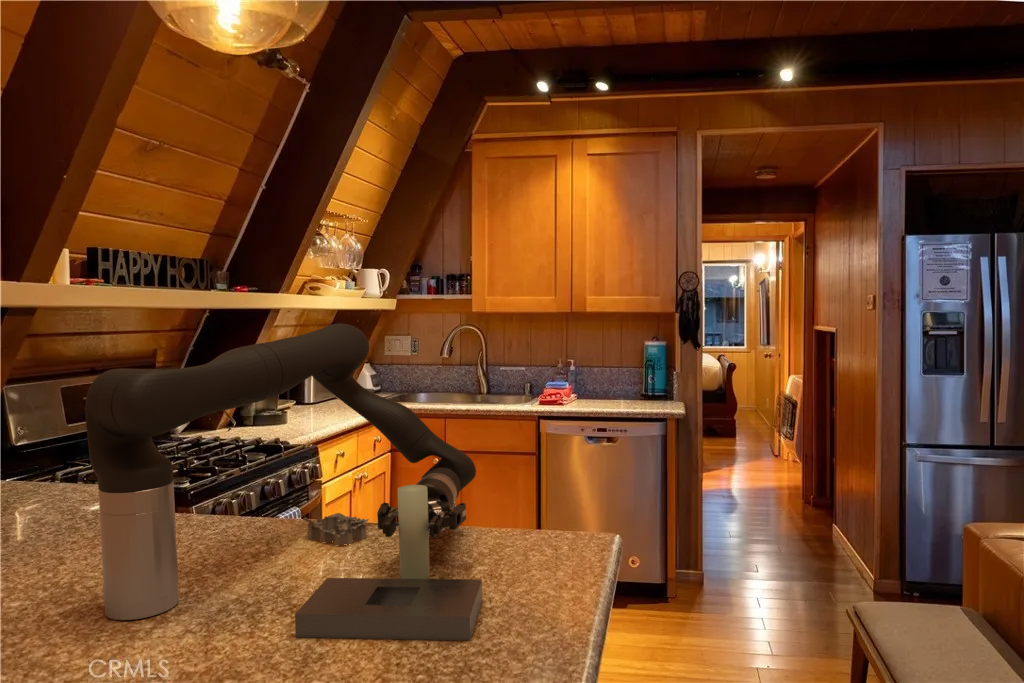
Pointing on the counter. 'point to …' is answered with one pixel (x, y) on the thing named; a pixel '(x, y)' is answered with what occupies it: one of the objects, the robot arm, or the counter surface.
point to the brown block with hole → (391, 609)
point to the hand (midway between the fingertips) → (409, 530)
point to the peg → (413, 532)
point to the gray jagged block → (345, 529)
